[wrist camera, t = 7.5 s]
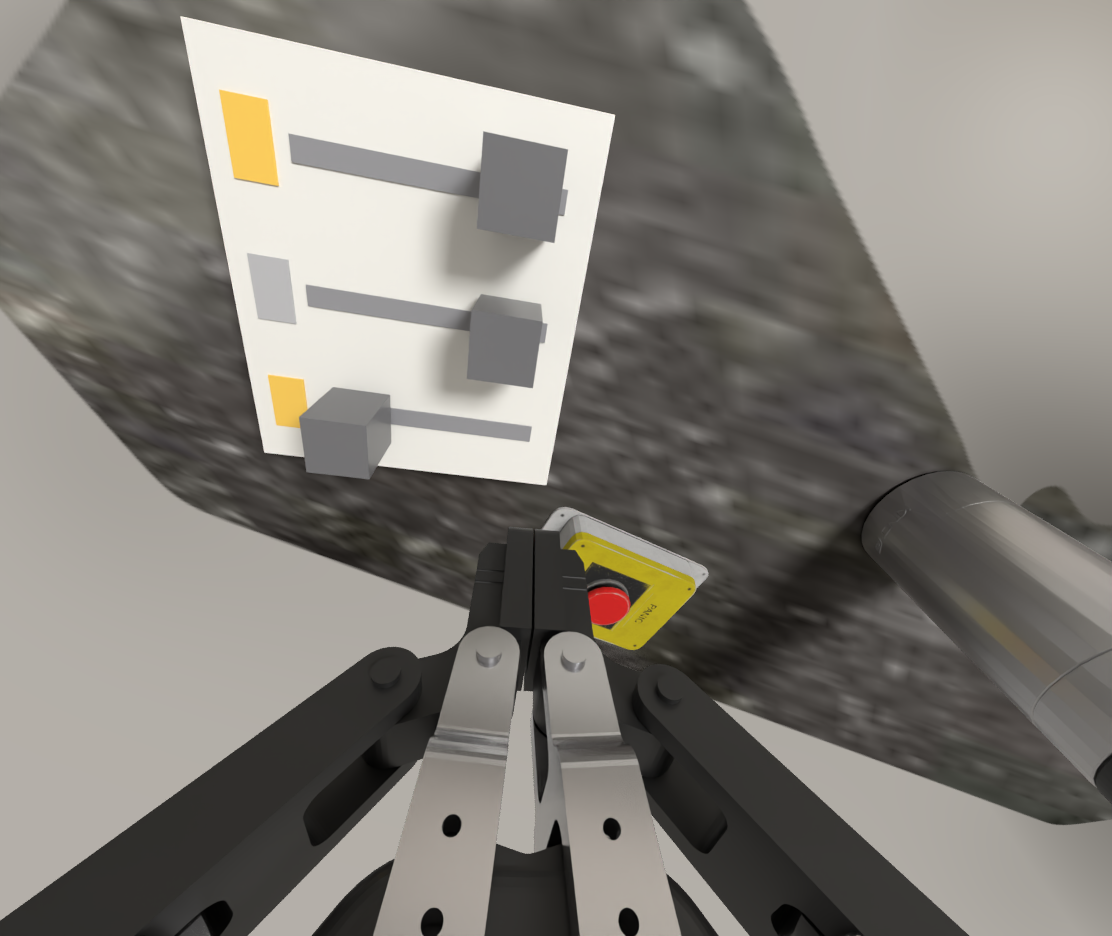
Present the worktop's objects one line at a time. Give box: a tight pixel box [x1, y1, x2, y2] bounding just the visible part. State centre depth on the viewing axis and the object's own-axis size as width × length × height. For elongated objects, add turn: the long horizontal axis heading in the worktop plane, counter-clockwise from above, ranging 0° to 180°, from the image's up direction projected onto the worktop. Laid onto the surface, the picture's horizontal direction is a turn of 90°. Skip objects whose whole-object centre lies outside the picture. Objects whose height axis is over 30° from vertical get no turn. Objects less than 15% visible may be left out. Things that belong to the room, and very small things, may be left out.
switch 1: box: [299, 387, 391, 479], centre depth 23 cm, size 3×3×4 cm
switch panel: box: [180, 16, 615, 485], centre depth 23 cm, size 17×19×3 cm
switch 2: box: [477, 131, 568, 243], centre depth 18 cm, size 3×3×4 cm
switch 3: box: [467, 294, 543, 388], centre depth 21 cm, size 3×3×4 cm
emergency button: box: [541, 507, 708, 650], centre depth 35 cm, size 9×4×15 cm
